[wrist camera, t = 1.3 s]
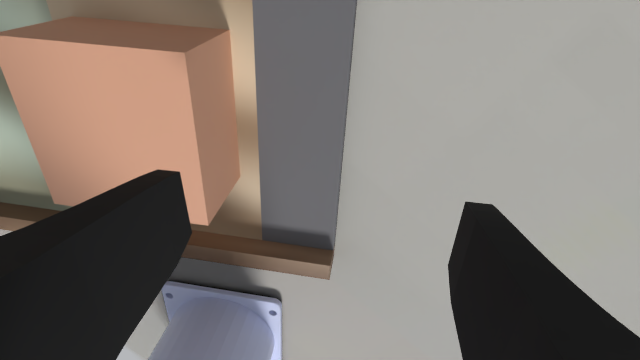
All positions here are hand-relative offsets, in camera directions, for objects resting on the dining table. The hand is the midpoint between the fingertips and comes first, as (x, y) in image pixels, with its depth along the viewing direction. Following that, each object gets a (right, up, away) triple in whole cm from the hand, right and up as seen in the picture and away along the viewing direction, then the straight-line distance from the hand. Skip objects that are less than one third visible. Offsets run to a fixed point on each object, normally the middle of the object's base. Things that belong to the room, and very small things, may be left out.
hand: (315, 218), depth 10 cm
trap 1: (-1, +4, +8) cm, 9 cm away
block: (-7, +5, +8) cm, 12 cm away
